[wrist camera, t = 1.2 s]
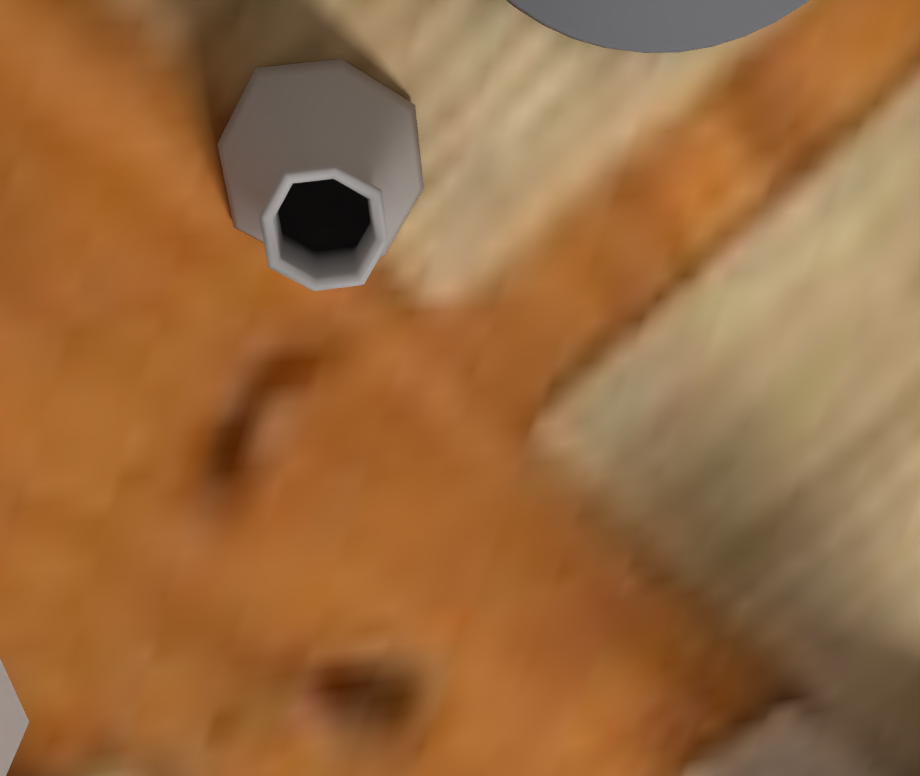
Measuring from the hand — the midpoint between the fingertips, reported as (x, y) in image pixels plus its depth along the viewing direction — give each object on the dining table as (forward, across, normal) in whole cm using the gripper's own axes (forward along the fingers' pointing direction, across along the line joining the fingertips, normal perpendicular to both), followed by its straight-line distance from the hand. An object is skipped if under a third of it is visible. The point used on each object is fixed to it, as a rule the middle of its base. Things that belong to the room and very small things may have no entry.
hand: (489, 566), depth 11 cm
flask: (+22, +3, -1) cm, 22 cm away
